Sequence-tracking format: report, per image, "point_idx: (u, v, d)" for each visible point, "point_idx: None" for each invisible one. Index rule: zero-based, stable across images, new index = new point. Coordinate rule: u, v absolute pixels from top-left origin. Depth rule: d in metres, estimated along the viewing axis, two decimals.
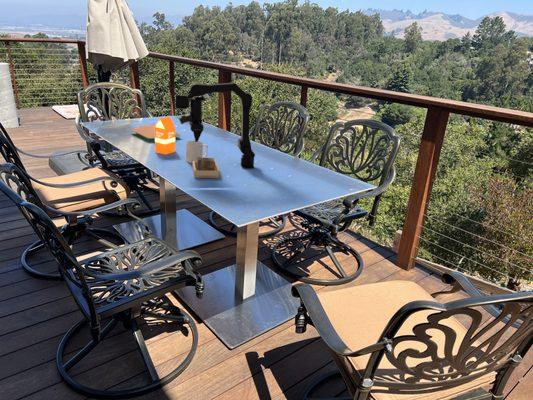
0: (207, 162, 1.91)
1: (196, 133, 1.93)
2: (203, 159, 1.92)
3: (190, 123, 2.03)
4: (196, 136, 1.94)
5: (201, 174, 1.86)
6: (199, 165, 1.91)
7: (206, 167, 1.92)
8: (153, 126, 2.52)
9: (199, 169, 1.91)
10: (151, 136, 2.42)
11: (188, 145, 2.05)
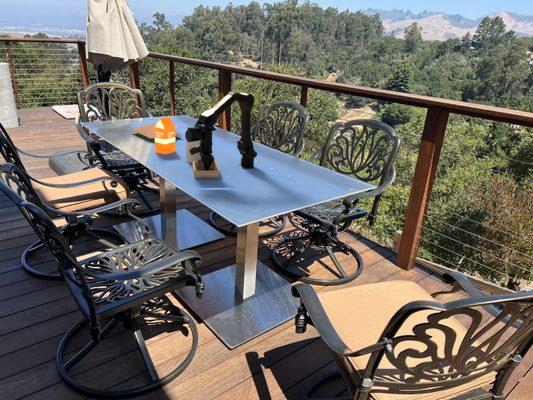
0: None
1: (206, 163, 1.90)
2: None
3: (200, 154, 1.96)
4: (206, 166, 1.90)
5: (201, 174, 1.86)
6: (199, 165, 1.91)
7: None
8: (154, 126, 2.53)
9: (199, 169, 1.91)
10: (152, 136, 2.43)
11: (188, 145, 2.05)
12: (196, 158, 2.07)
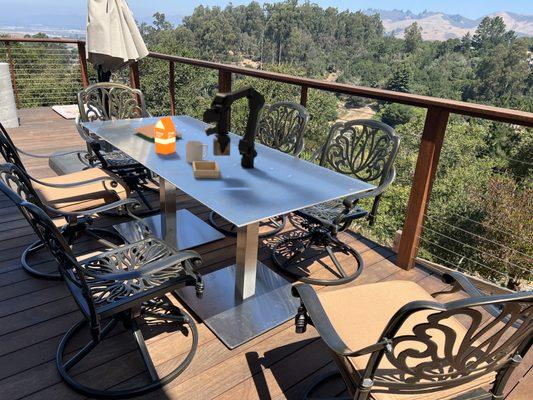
0: None
1: (222, 144, 1.88)
2: None
3: (216, 135, 1.94)
4: (222, 147, 1.89)
5: (201, 174, 1.86)
6: (215, 146, 1.89)
7: None
8: None
9: (215, 150, 1.90)
10: (153, 136, 2.43)
11: (188, 145, 2.05)
12: (196, 158, 2.07)
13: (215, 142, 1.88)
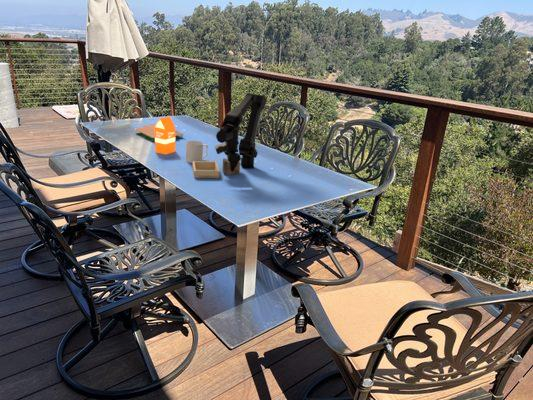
0: None
1: (232, 163, 1.91)
2: None
3: (225, 152, 2.00)
4: (232, 166, 1.92)
5: (201, 174, 1.86)
6: (225, 166, 1.94)
7: None
8: None
9: (225, 170, 1.95)
10: (154, 135, 2.44)
11: (188, 145, 2.05)
12: (196, 158, 2.07)
13: (225, 162, 1.93)
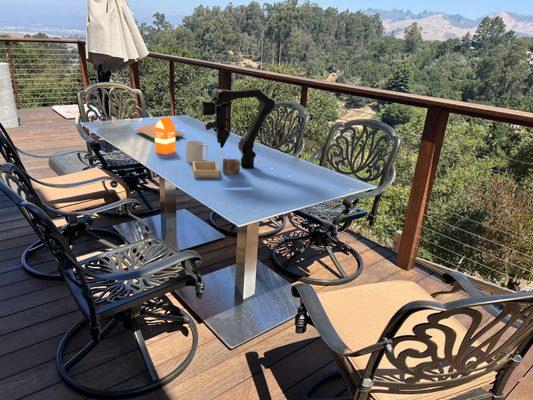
0: (233, 163, 1.94)
1: (222, 139, 1.95)
2: (229, 160, 1.95)
3: (214, 129, 2.04)
4: (222, 142, 1.96)
5: (201, 174, 1.86)
6: (225, 166, 1.94)
7: (232, 168, 1.95)
8: None
9: (225, 170, 1.95)
10: None
11: (188, 145, 2.05)
12: (196, 158, 2.07)
13: (225, 162, 1.93)
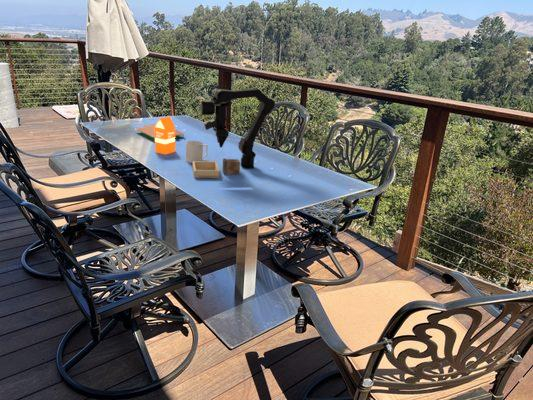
0: (233, 163, 1.94)
1: (221, 139, 1.96)
2: (229, 160, 1.95)
3: (214, 128, 2.05)
4: (221, 142, 1.96)
5: (201, 174, 1.86)
6: (225, 166, 1.94)
7: (232, 168, 1.95)
8: None
9: (225, 170, 1.95)
10: None
11: (188, 145, 2.05)
12: (196, 158, 2.07)
13: (225, 162, 1.93)
